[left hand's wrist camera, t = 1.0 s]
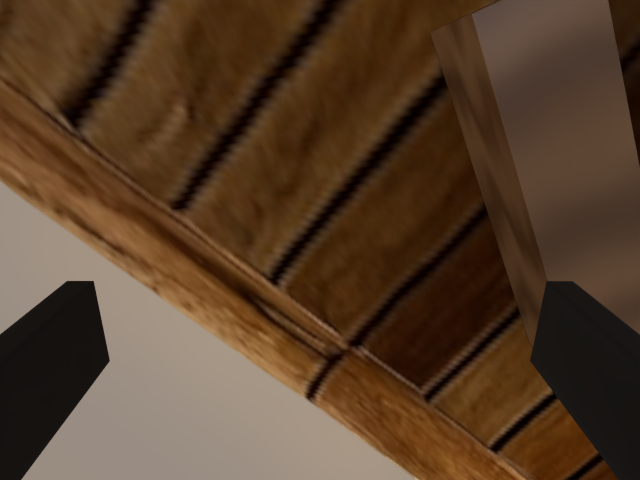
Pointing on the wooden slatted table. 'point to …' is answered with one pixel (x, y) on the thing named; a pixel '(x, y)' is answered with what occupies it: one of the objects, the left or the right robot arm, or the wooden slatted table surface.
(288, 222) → the wooden slatted table surface
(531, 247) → the bar
